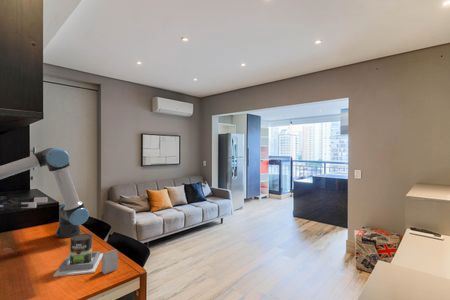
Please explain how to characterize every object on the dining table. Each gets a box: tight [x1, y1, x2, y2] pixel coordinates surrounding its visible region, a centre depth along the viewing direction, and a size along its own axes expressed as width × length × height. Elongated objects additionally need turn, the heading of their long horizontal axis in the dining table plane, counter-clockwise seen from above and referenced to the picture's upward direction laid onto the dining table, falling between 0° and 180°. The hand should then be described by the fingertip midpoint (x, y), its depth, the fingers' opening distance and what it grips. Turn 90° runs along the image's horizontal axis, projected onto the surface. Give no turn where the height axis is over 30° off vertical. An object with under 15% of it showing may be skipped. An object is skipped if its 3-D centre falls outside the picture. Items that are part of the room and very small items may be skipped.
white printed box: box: [100, 248, 119, 275], centre depth 124 cm, size 4×7×10 cm, turn 138°
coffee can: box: [69, 233, 93, 265], centre depth 129 cm, size 10×10×14 cm
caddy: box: [52, 251, 104, 278], centre depth 129 cm, size 22×18×3 cm
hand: (41, 202), depth 134 cm, fingers open, 13 cm apart
